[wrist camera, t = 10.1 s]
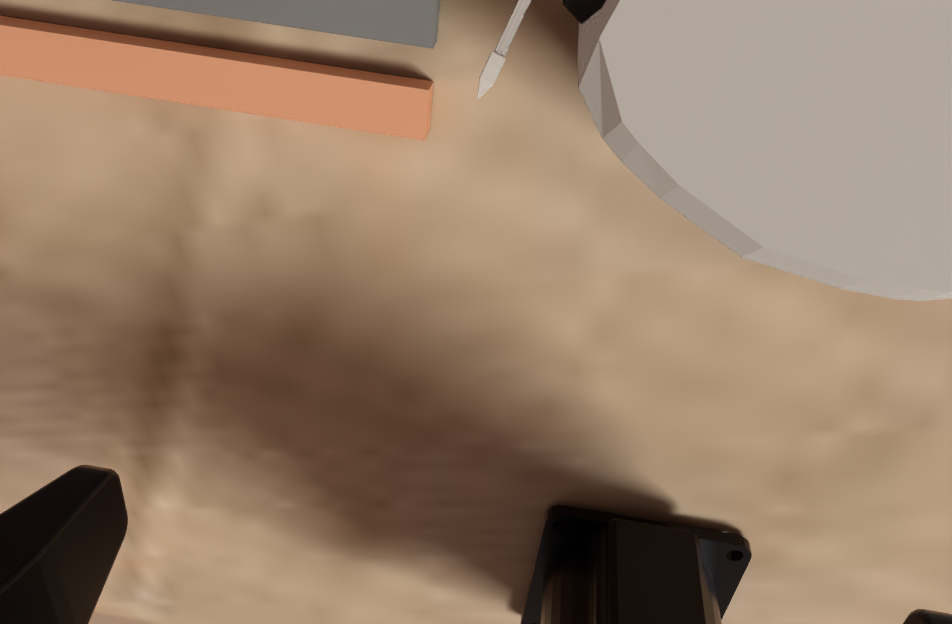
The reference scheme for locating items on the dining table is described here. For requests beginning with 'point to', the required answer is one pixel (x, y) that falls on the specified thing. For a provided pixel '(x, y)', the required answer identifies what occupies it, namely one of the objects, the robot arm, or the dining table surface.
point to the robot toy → (784, 127)
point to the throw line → (216, 78)
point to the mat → (328, 16)
